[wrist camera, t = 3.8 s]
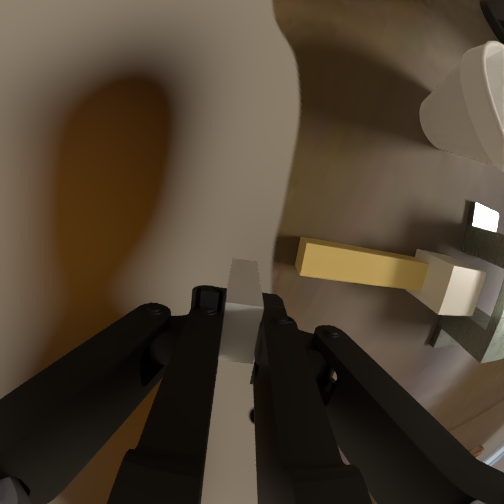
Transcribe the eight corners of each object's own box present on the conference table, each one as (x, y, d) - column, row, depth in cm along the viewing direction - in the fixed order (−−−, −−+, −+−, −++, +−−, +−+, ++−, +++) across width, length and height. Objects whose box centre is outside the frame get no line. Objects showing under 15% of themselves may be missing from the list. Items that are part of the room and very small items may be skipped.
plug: (302, 226, 26) (320, 240, 19) (450, 256, 27) (486, 272, 20) (292, 275, 27) (306, 303, 21) (439, 293, 28) (472, 316, 22)
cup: (483, 148, 24) (559, 147, 10) (434, 192, 25) (524, 205, 12) (439, 65, 21) (508, 32, 8) (380, 96, 23) (459, 51, 10)
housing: (471, 201, 25) (527, 212, 16) (494, 212, 26) (545, 224, 16) (429, 344, 30) (468, 384, 20) (455, 343, 30) (492, 378, 21)
